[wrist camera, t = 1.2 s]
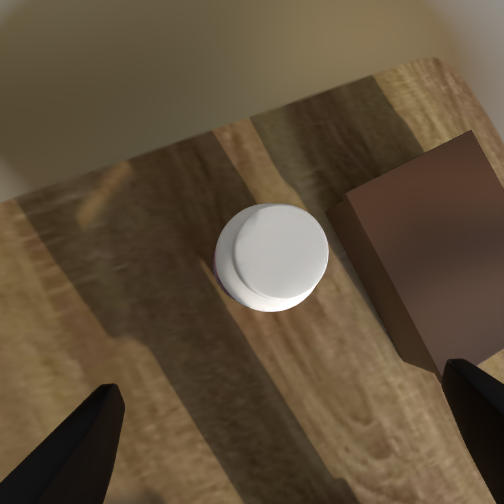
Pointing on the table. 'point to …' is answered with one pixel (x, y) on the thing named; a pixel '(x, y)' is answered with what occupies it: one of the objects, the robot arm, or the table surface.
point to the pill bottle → (270, 256)
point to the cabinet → (432, 253)
